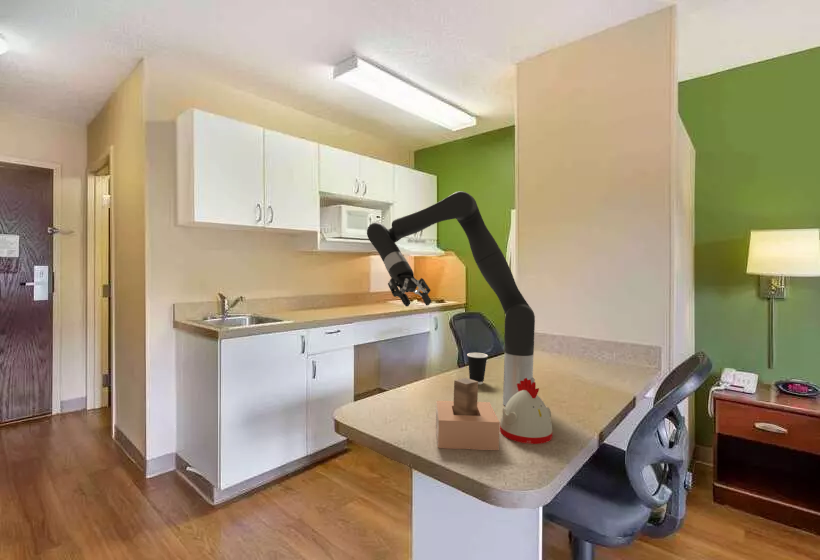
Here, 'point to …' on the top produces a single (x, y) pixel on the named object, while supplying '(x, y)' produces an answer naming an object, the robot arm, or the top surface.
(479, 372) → the dixie cup
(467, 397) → the walnut bar
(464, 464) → the top surface
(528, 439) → the kitchen timer
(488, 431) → the terracotta well block
